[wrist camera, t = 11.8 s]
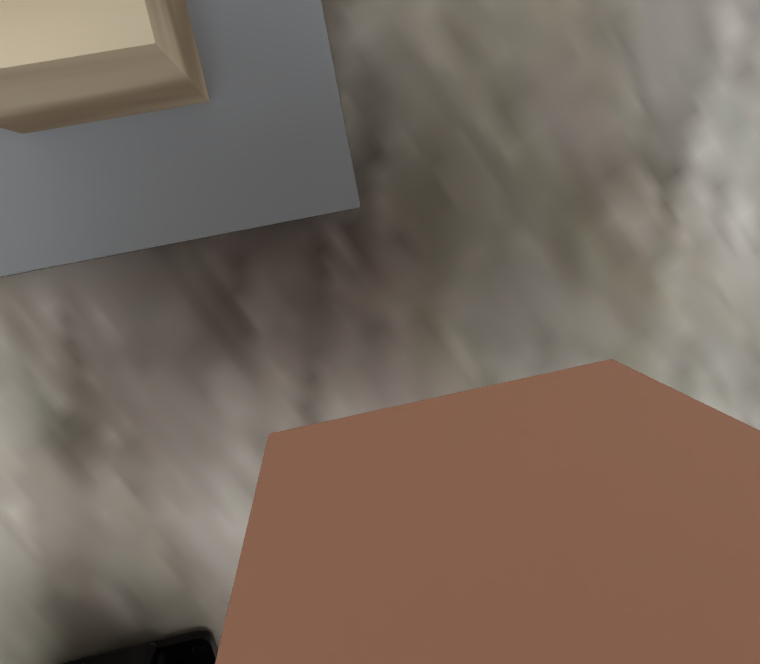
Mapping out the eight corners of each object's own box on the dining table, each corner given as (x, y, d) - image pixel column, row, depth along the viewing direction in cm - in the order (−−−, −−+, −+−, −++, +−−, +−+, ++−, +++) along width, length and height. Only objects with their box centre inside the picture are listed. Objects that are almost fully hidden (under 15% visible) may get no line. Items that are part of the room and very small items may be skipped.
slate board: (354, 208, 18) (360, 207, 16) (-1, 277, 18) (-64, 288, 15) (274, -200, 16) (264, -295, 13) (-148, -141, 15) (-262, -229, 12)
